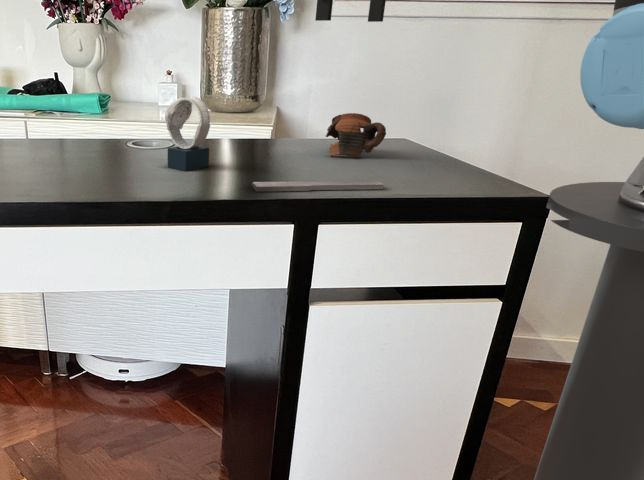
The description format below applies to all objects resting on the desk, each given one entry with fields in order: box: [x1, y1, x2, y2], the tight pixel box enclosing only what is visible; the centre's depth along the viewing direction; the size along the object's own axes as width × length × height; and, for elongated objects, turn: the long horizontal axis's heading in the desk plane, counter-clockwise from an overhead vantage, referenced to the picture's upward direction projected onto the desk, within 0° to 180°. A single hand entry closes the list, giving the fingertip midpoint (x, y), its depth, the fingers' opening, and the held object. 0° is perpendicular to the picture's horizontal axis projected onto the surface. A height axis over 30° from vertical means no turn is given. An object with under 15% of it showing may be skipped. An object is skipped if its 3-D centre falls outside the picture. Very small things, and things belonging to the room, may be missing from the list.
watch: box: [164, 96, 211, 172], centre depth 105 cm, size 6×8×11 cm
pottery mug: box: [325, 112, 387, 159], centre depth 118 cm, size 12×10×8 cm
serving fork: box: [252, 181, 385, 193], centre depth 93 cm, size 19×3×1 cm, turn 94°
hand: (349, 21), depth 109 cm, fingers open, 13 cm apart
